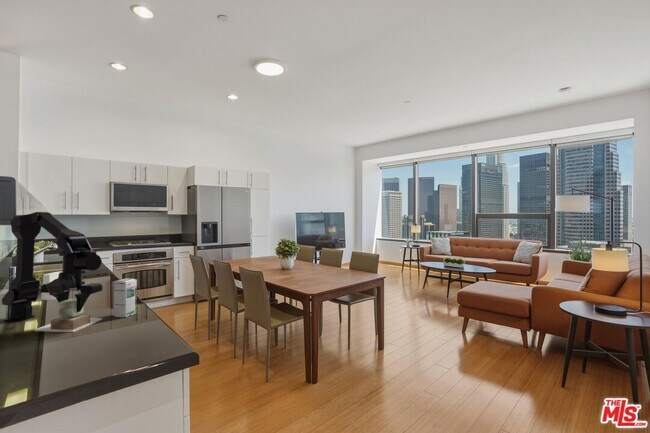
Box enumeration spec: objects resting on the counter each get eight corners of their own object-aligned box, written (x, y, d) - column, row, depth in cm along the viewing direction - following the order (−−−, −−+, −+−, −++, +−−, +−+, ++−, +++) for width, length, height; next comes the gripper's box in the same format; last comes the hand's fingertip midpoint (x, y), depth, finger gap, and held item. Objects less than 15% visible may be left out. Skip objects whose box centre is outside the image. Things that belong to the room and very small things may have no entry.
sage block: (58, 316, 114) (59, 302, 114) (70, 312, 119) (70, 298, 119) (72, 316, 113) (73, 302, 114) (83, 312, 118) (83, 299, 118)
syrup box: (125, 317, 127) (126, 281, 127) (112, 316, 129) (113, 280, 129) (136, 313, 133) (137, 278, 133) (124, 312, 134) (125, 278, 134)
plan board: (33, 331, 111) (34, 320, 111) (67, 318, 125) (67, 309, 125) (73, 332, 111) (73, 322, 111) (102, 319, 125) (102, 310, 125)
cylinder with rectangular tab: (54, 300, 150) (55, 274, 150) (35, 299, 150) (36, 274, 150) (70, 295, 159) (70, 271, 159) (52, 295, 159) (53, 271, 159)
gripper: (26, 271, 108) (24, 317, 108) (80, 273, 108) (79, 319, 108) (54, 266, 119) (53, 308, 119) (104, 268, 119) (102, 310, 119)
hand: (71, 311), depth 116 cm, fingers closed on sage block, 5 cm apart
